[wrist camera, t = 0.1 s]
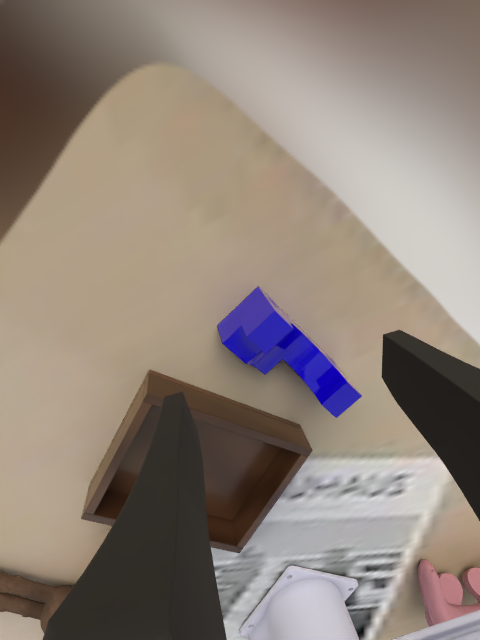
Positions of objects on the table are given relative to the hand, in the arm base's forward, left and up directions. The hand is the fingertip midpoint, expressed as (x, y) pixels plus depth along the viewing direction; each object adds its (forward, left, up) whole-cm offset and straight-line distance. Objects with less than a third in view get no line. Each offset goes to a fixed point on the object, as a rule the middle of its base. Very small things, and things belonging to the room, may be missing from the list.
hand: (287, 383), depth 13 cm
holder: (-12, -3, -11) cm, 16 cm away
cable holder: (-2, -4, -11) cm, 12 cm away
